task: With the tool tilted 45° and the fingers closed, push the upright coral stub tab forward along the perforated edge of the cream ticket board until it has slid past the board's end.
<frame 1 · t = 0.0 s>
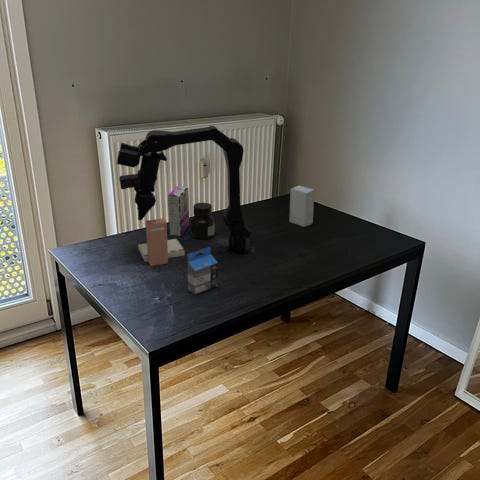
hand: (139, 214, 159), 15 cm above the table, tool pointing down, fingers open, 9 cm apart
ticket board: (161, 252, 168), on the table
label tape cartridge: (203, 288, 147), on the table
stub: (157, 242, 158), point 8 cm above the table, slide at 0.0 cm
skincare box: (300, 223, 197), on the table
ink bottle: (202, 235, 183), on the table
candy bar box: (179, 230, 187), on the table
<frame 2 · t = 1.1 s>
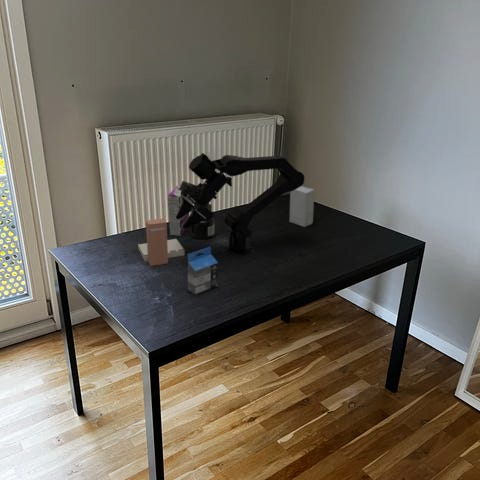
hand: (180, 223, 159), 13 cm above the table, tool tilted 45°, fingers open, 8 cm apart
nothing on the table moved.
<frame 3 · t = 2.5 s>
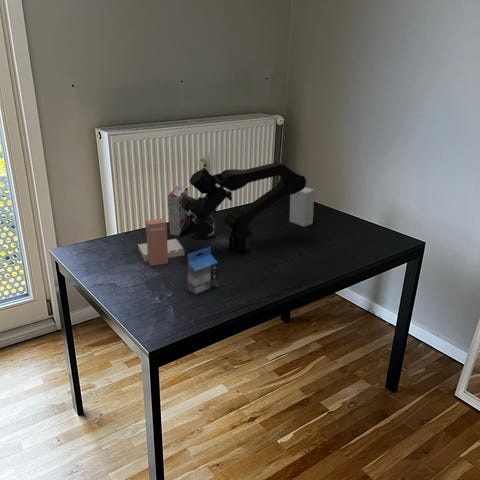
hand: (180, 236, 161), 9 cm above the table, tool tilted 45°, fingers closed
nothing on the table moved.
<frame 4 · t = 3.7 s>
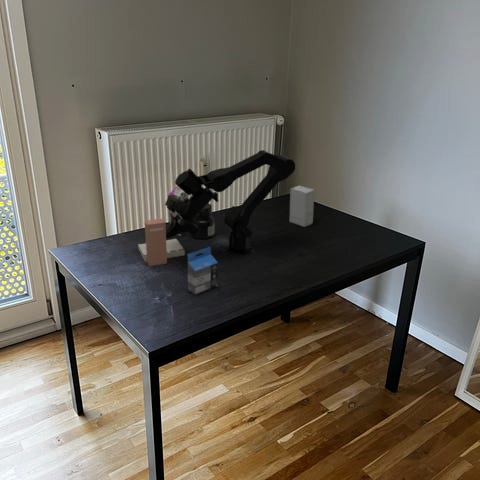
hand: (165, 237, 159), 9 cm above the table, tool tilted 45°, fingers closed, pressing on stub
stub: (156, 242, 158), point 8 cm above the table, slide at 0.4 cm, touching gripper
everything else where it was.
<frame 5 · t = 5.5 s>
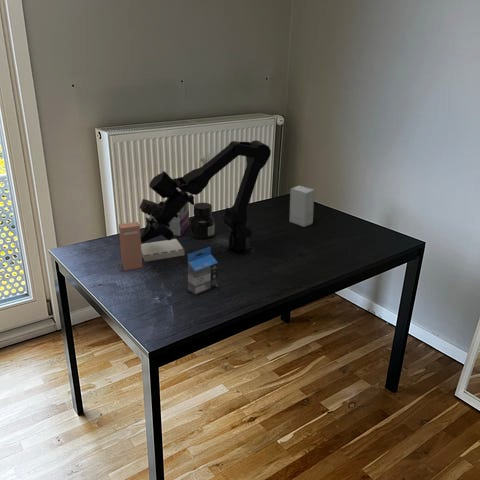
hand: (140, 241, 156), 9 cm above the table, tool tilted 45°, fingers closed, pressing on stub
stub: (130, 246, 155), point 8 cm above the table, slide at 8.7 cm, touching gripper
everything else where it was.
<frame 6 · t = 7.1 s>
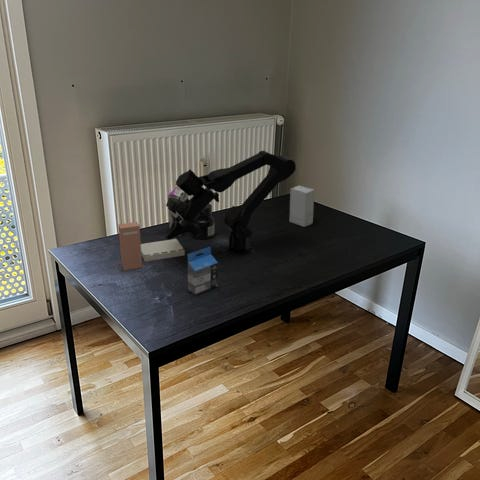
hand: (167, 238, 159), 8 cm above the table, tool tilted 45°, fingers closed
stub: (130, 246, 155), point 8 cm above the table, slide at 8.8 cm
everything else where it was.
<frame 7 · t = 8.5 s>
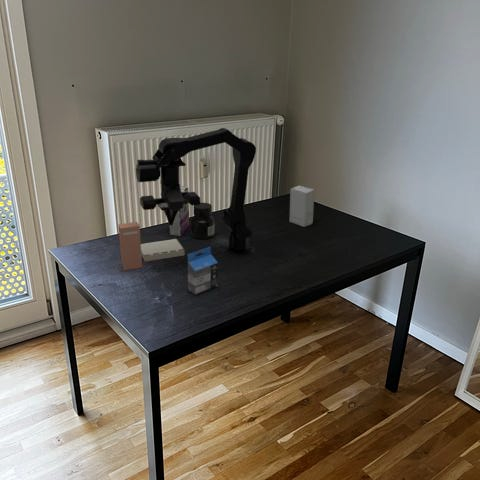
hand: (170, 225, 158), 13 cm above the table, tool pointing down, fingers closed
nothing on the table moved.
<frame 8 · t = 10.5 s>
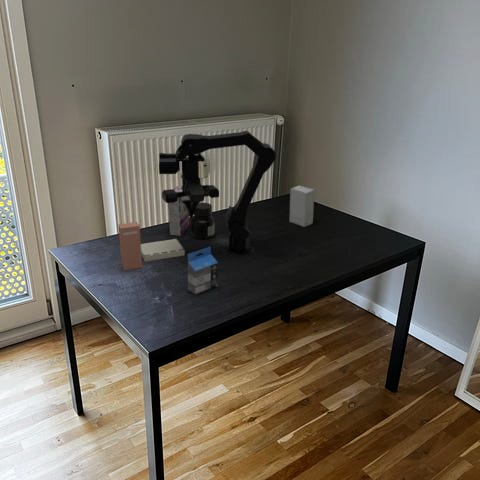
hand: (191, 217, 165), 13 cm above the table, tool pointing down, fingers closed
nothing on the table moved.
at the end: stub slide at 8.8 cm; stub touching nothing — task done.
